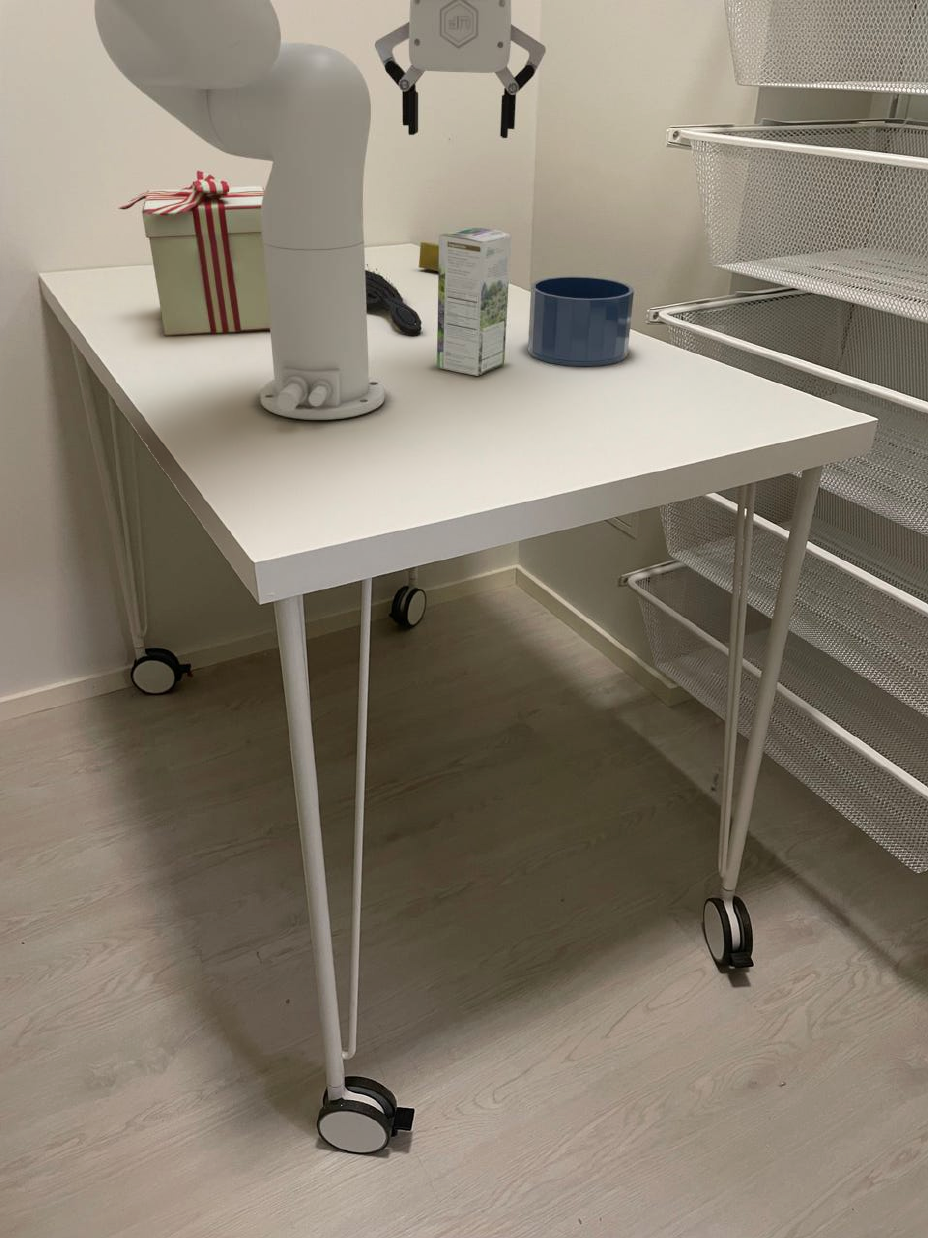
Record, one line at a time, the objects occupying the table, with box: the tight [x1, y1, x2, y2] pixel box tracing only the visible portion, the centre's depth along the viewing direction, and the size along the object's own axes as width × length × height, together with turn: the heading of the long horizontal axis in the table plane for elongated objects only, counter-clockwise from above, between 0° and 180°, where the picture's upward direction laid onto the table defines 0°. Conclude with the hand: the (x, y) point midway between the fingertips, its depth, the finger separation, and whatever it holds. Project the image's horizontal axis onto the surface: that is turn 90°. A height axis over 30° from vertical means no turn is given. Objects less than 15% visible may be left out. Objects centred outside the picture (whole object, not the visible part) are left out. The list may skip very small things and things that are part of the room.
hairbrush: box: [365, 263, 423, 337], centre depth 131 cm, size 8×4×25 cm
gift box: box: [118, 170, 270, 337], centre depth 122 cm, size 17×18×17 cm
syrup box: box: [436, 227, 512, 377], centre depth 107 cm, size 6×6×14 cm
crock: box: [527, 275, 635, 367], centre depth 115 cm, size 12×12×8 cm
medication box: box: [418, 241, 439, 272], centre depth 152 cm, size 12×3×4 cm, turn 54°
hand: (458, 135), depth 103 cm, fingers open, 9 cm apart
